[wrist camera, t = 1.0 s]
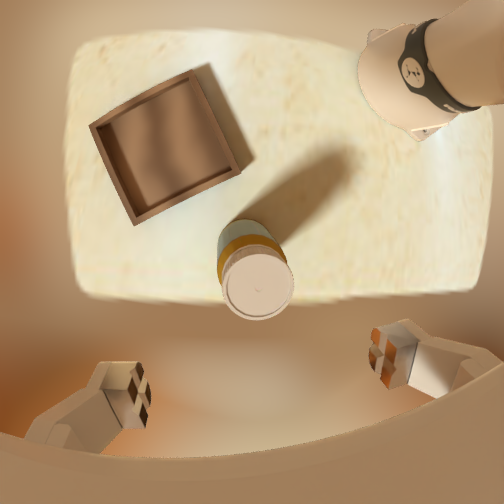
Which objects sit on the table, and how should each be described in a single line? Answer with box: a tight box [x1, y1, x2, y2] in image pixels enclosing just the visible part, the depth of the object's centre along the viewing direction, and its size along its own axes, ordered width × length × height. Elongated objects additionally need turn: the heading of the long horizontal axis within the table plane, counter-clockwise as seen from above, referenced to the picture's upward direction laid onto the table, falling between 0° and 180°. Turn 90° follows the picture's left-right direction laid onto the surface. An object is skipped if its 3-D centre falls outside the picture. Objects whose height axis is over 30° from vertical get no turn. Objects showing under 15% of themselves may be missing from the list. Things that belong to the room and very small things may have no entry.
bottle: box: [217, 219, 294, 320], centre depth 32 cm, size 7×7×15 cm
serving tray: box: [88, 69, 241, 226], centre depth 33 cm, size 15×15×2 cm
